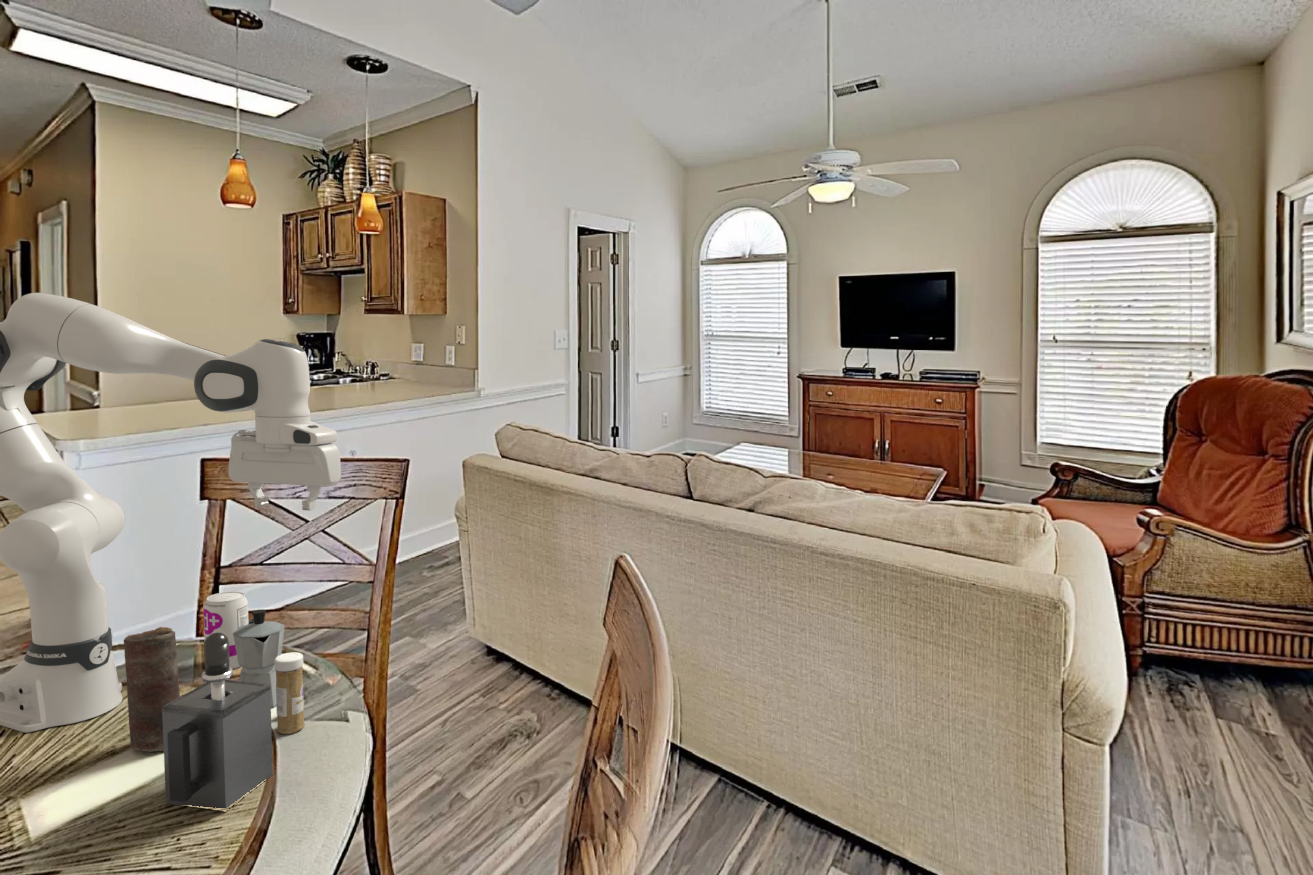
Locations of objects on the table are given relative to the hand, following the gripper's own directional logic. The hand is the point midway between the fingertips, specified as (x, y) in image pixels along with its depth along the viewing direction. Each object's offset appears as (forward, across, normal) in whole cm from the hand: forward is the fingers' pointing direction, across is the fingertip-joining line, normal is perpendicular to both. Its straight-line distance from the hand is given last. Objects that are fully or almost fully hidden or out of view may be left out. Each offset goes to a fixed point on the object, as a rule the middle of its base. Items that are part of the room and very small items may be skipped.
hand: (285, 508), depth 133 cm
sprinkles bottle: (+39, +3, -4) cm, 40 cm away
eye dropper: (+36, +5, -23) cm, 43 cm away
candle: (+39, -15, -14) cm, 44 cm away
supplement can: (+39, -28, +18) cm, 52 cm away
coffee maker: (+39, -10, +5) cm, 41 cm away
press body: (+39, +5, -24) cm, 46 cm away
